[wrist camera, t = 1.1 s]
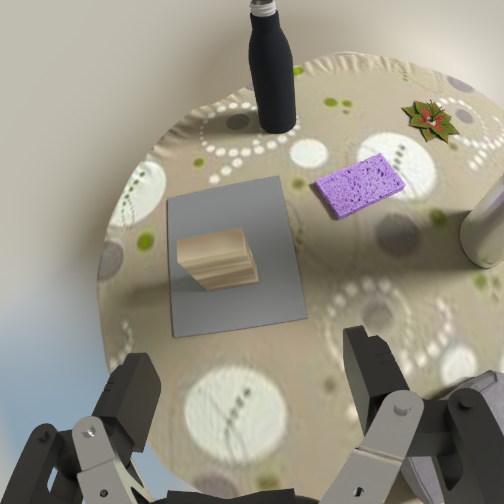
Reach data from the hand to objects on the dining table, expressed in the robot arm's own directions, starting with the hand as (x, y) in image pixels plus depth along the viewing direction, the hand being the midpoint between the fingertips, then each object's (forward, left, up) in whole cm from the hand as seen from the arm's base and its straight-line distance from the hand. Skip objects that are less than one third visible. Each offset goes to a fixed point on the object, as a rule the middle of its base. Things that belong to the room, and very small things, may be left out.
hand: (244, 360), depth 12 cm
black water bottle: (-35, -21, -29) cm, 50 cm away
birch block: (-7, -12, -28) cm, 31 cm away
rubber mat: (-10, -14, -29) cm, 34 cm away
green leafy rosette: (-51, +4, -29) cm, 59 cm away
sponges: (-29, -3, -29) cm, 41 cm away
